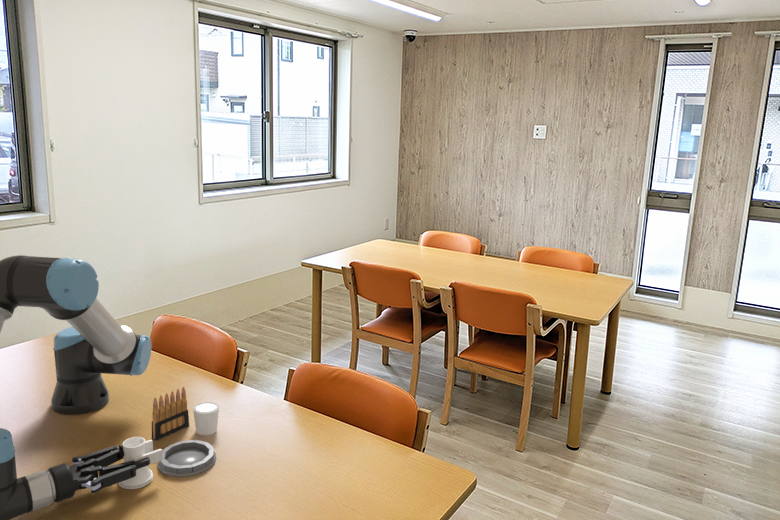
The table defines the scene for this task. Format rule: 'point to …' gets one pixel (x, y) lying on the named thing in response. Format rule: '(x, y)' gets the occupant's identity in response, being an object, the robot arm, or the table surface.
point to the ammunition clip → (169, 415)
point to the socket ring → (187, 458)
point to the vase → (132, 450)
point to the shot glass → (206, 417)
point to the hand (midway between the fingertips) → (156, 449)
